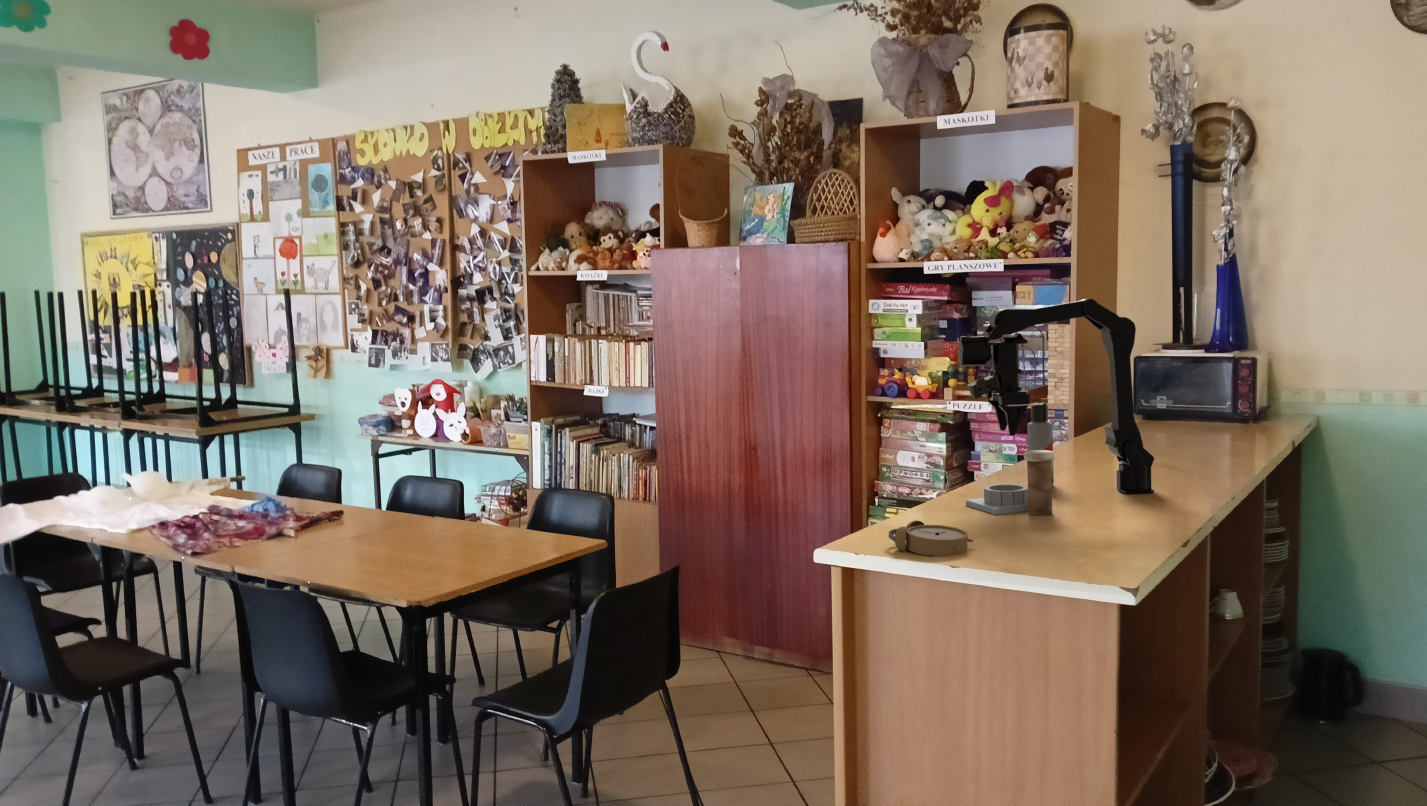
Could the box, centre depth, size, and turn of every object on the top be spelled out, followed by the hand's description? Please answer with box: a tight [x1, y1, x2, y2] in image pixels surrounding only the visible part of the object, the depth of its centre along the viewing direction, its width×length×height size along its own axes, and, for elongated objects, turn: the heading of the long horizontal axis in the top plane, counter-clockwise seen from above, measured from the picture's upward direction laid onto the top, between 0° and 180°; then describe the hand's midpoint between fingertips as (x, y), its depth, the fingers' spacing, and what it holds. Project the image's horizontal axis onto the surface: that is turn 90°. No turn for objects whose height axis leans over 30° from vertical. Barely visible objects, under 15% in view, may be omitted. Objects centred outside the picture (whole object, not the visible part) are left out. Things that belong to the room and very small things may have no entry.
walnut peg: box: [1023, 450, 1055, 517], centre depth 224 cm, size 6×6×13 cm
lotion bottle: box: [1027, 401, 1055, 487], centre depth 255 cm, size 6×6×20 cm
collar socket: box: [965, 483, 1028, 516], centre depth 233 cm, size 13×12×4 cm
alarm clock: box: [888, 520, 974, 557], centre depth 199 cm, size 11×5×15 cm
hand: (1007, 432), depth 243 cm, fingers open, 9 cm apart
